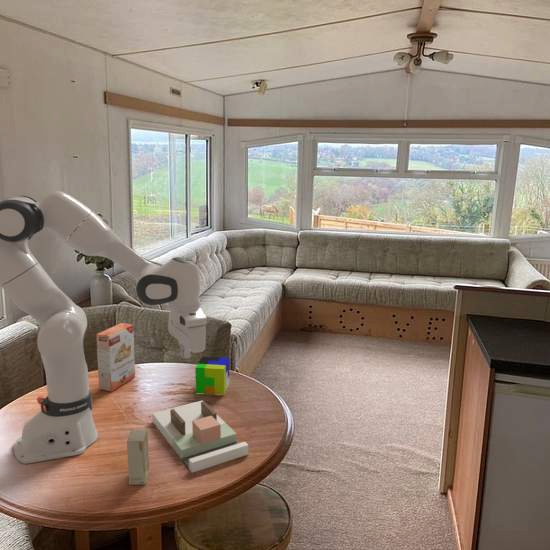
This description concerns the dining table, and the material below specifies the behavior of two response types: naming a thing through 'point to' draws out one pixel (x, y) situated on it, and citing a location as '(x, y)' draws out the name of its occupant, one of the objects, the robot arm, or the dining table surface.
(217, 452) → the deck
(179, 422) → the channel walls
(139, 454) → the skincare box
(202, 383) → the puzzle toy
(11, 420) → the dining table surface
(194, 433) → the block
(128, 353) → the cracker box
